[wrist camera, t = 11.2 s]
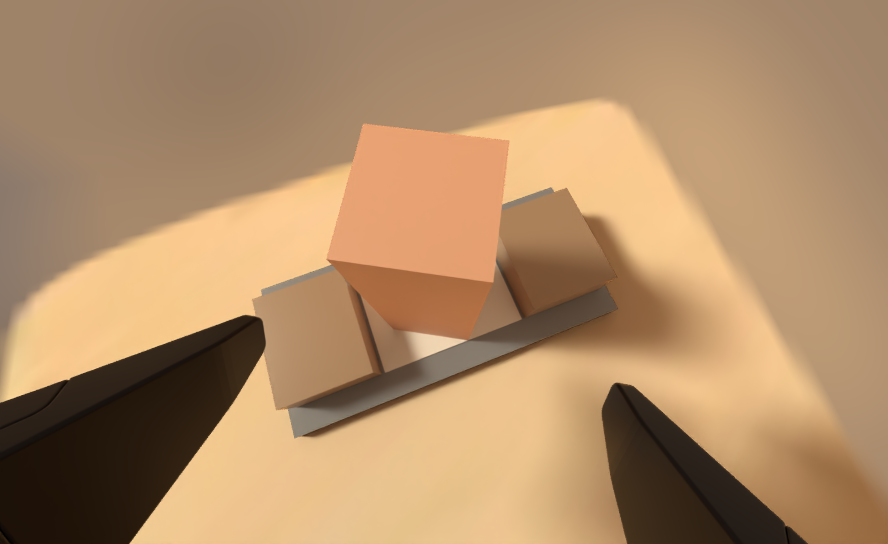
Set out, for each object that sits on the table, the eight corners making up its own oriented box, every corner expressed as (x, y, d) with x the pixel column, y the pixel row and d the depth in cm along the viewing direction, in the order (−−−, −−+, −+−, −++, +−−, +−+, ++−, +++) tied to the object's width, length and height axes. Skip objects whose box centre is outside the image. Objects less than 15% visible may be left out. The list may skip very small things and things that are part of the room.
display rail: (300, 436, 20) (272, 445, 17) (267, 293, 23) (238, 277, 19) (612, 311, 22) (639, 298, 19) (548, 193, 25) (562, 165, 21)
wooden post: (468, 340, 21) (493, 282, 9) (393, 329, 21) (326, 259, 9) (477, 268, 22) (509, 140, 11) (406, 258, 22) (363, 123, 11)
